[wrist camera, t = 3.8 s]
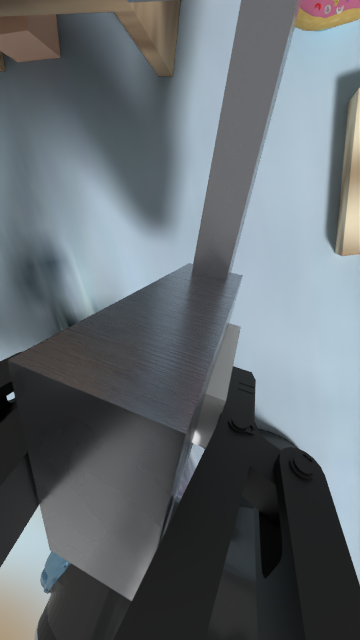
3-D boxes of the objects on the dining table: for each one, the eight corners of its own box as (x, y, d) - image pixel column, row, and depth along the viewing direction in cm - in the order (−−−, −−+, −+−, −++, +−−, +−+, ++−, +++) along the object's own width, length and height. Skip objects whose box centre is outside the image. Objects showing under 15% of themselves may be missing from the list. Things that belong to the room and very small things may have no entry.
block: (61, 58, 24) (27, 30, 20) (19, 63, 25) (-20, 37, 22) (53, -30, 21) (12, -80, 18) (6, -19, 23) (-40, -63, 19)
